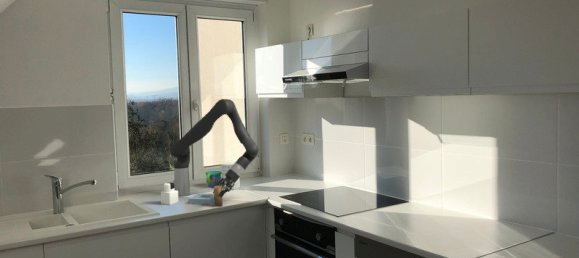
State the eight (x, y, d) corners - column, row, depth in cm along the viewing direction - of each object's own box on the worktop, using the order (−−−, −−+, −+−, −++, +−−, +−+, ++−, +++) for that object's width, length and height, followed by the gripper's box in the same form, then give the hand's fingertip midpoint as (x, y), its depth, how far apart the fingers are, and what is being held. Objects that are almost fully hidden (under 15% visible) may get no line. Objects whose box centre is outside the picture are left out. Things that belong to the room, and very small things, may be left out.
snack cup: (214, 183, 344) (214, 169, 343) (227, 185, 339) (226, 170, 338) (200, 188, 330) (200, 173, 330) (213, 189, 325) (212, 174, 324)
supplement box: (234, 190, 321) (233, 164, 319) (221, 189, 323) (220, 164, 322) (240, 187, 330) (239, 162, 328) (227, 186, 333) (226, 162, 331)
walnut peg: (213, 206, 276) (212, 187, 275) (216, 204, 280) (215, 185, 280) (220, 206, 275) (220, 187, 274) (223, 204, 279) (223, 185, 279)
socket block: (188, 203, 284) (188, 198, 284) (198, 198, 298) (198, 193, 297) (211, 204, 281) (211, 199, 281) (220, 199, 294) (220, 194, 294)
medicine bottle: (169, 201, 292) (168, 181, 291) (178, 202, 288) (177, 182, 287) (160, 203, 286) (160, 183, 285) (169, 205, 282) (169, 184, 281)
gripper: (225, 167, 286) (207, 189, 281) (235, 170, 274) (217, 193, 269) (233, 175, 290) (216, 196, 284) (244, 178, 278) (226, 201, 272)
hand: (217, 195), depth 277 cm, fingers open, 8 cm apart
